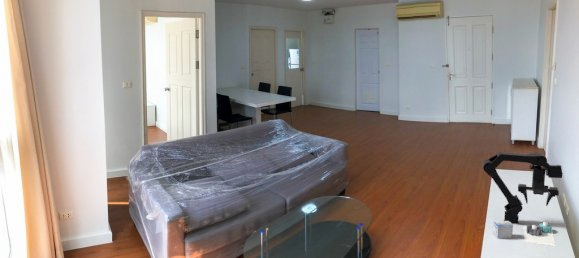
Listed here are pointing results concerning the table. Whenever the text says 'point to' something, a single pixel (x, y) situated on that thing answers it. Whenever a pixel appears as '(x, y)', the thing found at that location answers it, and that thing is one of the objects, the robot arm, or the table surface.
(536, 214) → the table surface
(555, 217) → the table surface
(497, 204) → the table surface
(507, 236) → the medicine box
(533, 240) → the gear board
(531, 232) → the gear
